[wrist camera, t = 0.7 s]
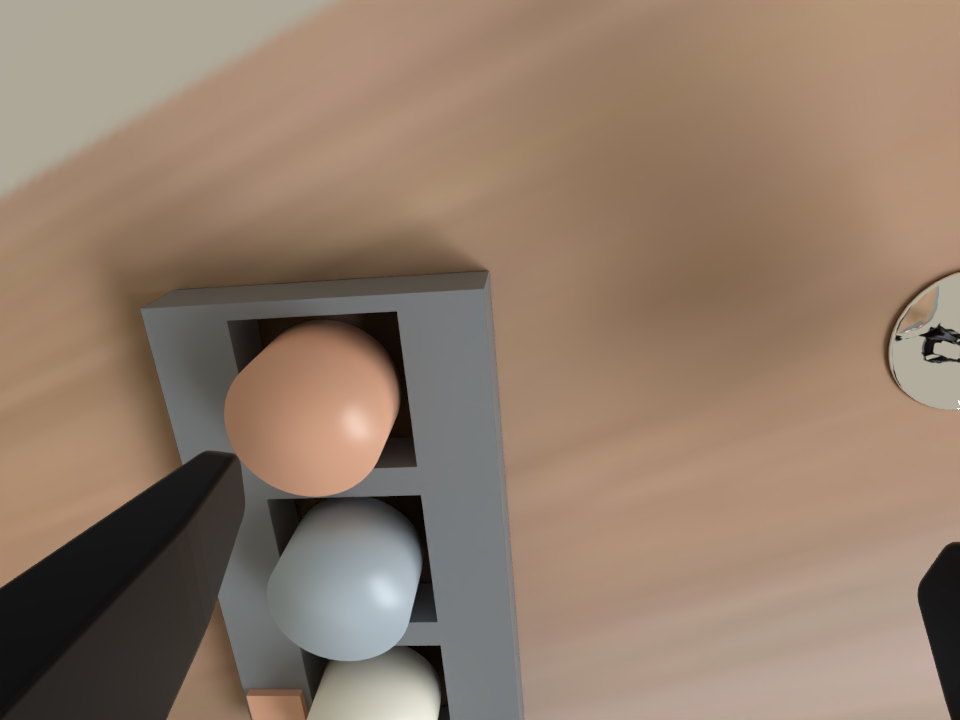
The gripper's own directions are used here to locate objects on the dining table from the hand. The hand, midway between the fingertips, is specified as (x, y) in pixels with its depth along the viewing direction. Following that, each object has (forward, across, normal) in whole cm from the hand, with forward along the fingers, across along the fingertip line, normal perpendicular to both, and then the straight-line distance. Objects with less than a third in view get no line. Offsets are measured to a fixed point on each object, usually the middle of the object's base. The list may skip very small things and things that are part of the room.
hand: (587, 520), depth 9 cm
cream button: (+8, +4, +18) cm, 20 cm away
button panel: (+11, +5, +12) cm, 17 cm away
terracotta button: (+11, +6, +6) cm, 14 cm away
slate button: (+9, +5, +12) cm, 16 cm away
